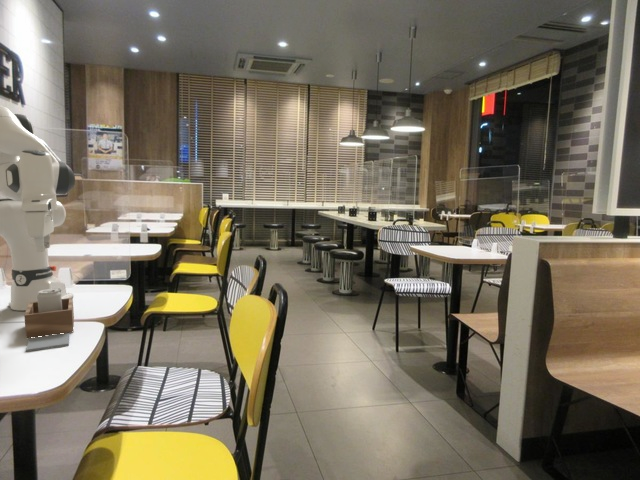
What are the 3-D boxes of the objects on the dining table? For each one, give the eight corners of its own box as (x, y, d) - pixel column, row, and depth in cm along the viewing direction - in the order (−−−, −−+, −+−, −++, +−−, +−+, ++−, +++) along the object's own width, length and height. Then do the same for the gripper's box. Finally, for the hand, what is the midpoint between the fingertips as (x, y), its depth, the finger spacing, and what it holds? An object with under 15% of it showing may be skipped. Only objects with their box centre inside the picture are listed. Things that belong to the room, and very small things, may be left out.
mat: (29, 340, 127) (29, 338, 127) (69, 334, 132) (69, 332, 132) (25, 351, 118) (25, 349, 118) (68, 345, 123) (68, 343, 123)
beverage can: (52, 331, 134) (49, 293, 133) (34, 330, 136) (31, 292, 134) (68, 325, 140) (65, 288, 139) (51, 323, 142) (48, 287, 140)
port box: (31, 323, 142) (29, 302, 141) (74, 317, 148) (72, 297, 147) (26, 338, 128) (24, 315, 127) (73, 332, 134) (71, 309, 133)
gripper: (34, 204, 140) (38, 246, 142) (19, 205, 122) (24, 254, 123) (57, 203, 143) (60, 245, 144) (46, 205, 124) (50, 253, 126)
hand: (43, 250), depth 134 cm, fingers open, 8 cm apart
